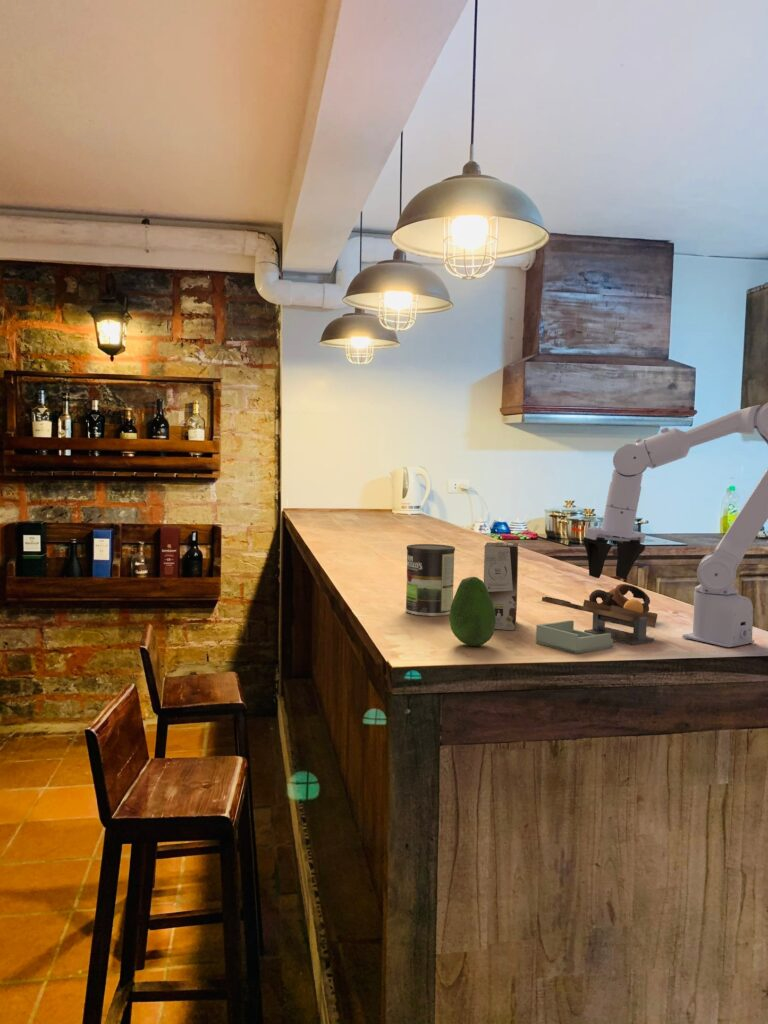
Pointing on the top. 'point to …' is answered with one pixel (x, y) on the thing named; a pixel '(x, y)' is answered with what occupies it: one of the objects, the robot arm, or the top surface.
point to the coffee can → (429, 579)
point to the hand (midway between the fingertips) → (607, 577)
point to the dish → (571, 638)
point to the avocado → (472, 613)
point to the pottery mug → (620, 596)
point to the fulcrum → (622, 636)
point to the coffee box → (502, 581)
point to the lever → (608, 612)
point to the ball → (634, 605)
